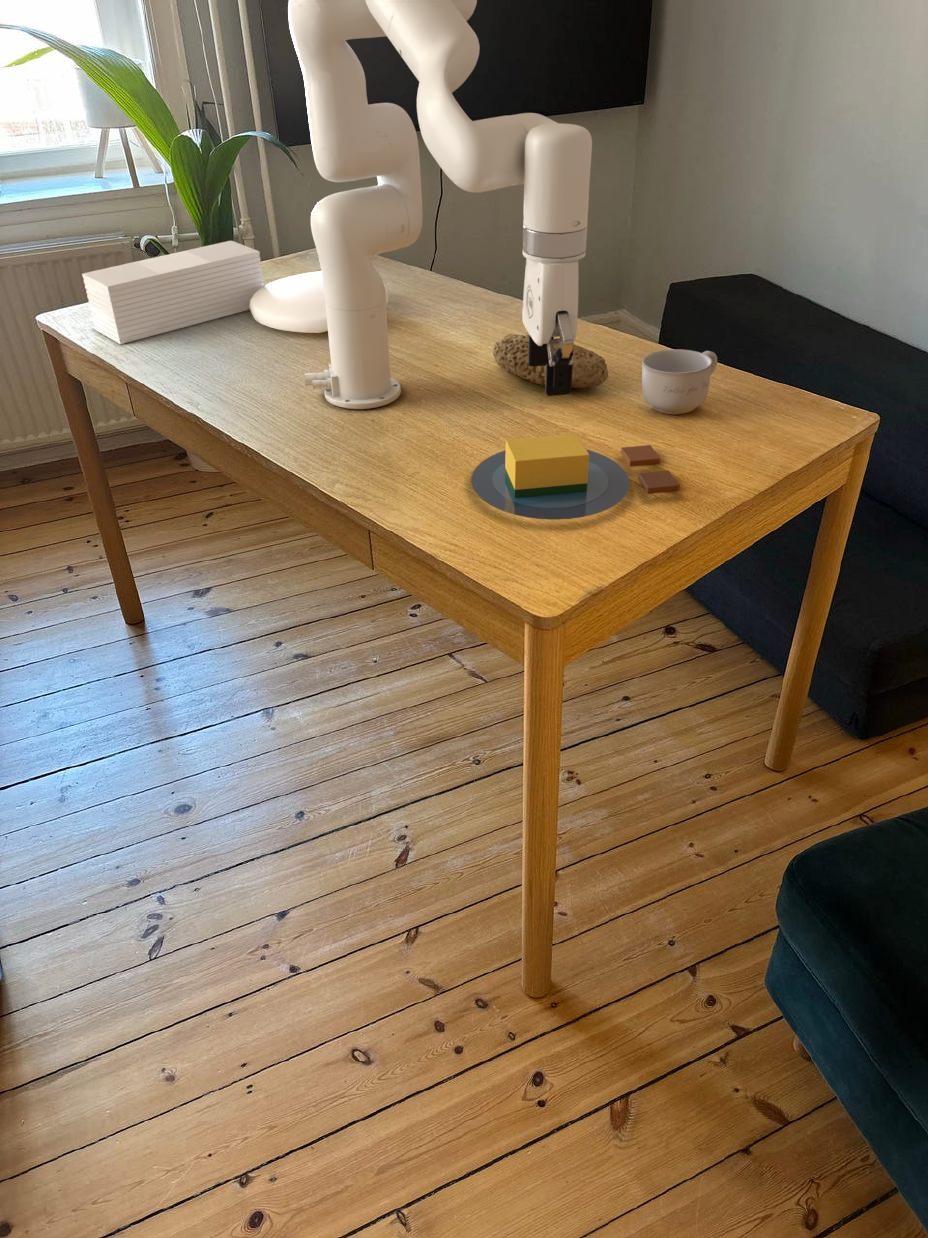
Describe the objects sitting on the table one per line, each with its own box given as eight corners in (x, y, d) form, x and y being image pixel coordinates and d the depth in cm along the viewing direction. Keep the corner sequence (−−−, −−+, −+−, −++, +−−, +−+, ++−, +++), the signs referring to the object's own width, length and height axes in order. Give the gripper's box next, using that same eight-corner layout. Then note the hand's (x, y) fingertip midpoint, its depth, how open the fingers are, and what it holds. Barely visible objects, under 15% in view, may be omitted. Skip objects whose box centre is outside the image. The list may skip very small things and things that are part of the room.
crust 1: (629, 473, 140) (630, 461, 138) (620, 459, 143) (621, 447, 142) (658, 471, 140) (660, 458, 139) (649, 457, 144) (650, 444, 143)
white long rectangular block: (238, 293, 207) (231, 240, 201) (266, 305, 201) (259, 250, 194) (95, 329, 190) (81, 273, 184) (120, 344, 184) (107, 286, 177)
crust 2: (646, 501, 133) (648, 488, 132) (636, 485, 137) (638, 473, 136) (677, 498, 134) (679, 485, 133) (667, 483, 137) (668, 470, 136)
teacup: (661, 425, 152) (667, 376, 148) (625, 400, 160) (629, 352, 156) (736, 410, 157) (743, 361, 152) (696, 385, 165) (703, 339, 160)
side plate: (486, 535, 127) (486, 526, 126) (459, 458, 144) (458, 450, 143) (650, 519, 129) (651, 510, 129) (604, 446, 147) (605, 438, 146)
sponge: (485, 378, 171) (553, 393, 155) (487, 332, 169) (556, 342, 153) (546, 376, 178) (617, 390, 162) (549, 331, 175) (622, 341, 159)
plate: (319, 324, 177) (217, 298, 190) (325, 358, 181) (225, 330, 194) (414, 269, 193) (315, 248, 206) (418, 301, 198) (320, 279, 211)
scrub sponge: (514, 498, 132) (515, 461, 129) (505, 475, 137) (505, 439, 134) (586, 491, 133) (589, 454, 130) (574, 469, 138) (576, 433, 135)
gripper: (508, 224, 123) (506, 356, 133) (539, 264, 109) (535, 409, 119) (567, 220, 124) (561, 352, 134) (605, 260, 110) (595, 404, 120)
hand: (548, 379), depth 126 cm, fingers open, 9 cm apart
